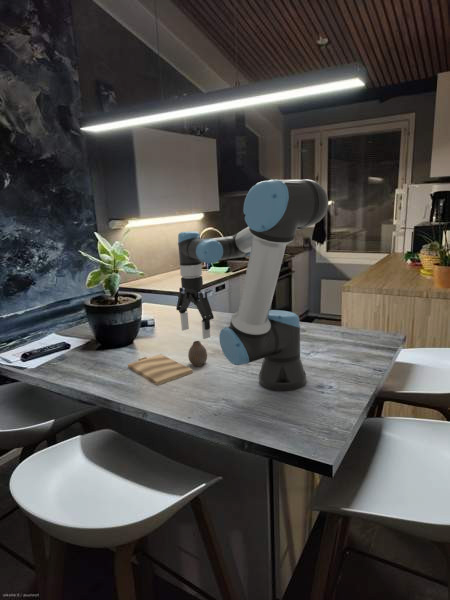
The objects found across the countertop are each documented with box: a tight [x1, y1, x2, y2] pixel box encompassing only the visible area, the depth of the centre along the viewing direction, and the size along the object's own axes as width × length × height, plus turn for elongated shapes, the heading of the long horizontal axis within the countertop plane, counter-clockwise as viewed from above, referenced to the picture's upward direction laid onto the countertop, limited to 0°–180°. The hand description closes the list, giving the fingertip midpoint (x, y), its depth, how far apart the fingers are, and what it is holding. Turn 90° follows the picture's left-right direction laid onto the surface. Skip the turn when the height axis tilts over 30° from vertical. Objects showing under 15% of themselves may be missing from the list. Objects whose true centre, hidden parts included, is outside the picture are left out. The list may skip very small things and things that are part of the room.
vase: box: [187, 340, 208, 367], centre depth 149 cm, size 7×7×9 cm
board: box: [127, 353, 193, 386], centre depth 148 cm, size 24×14×1 cm, turn 38°
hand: (195, 333), depth 148 cm, fingers open, 13 cm apart
